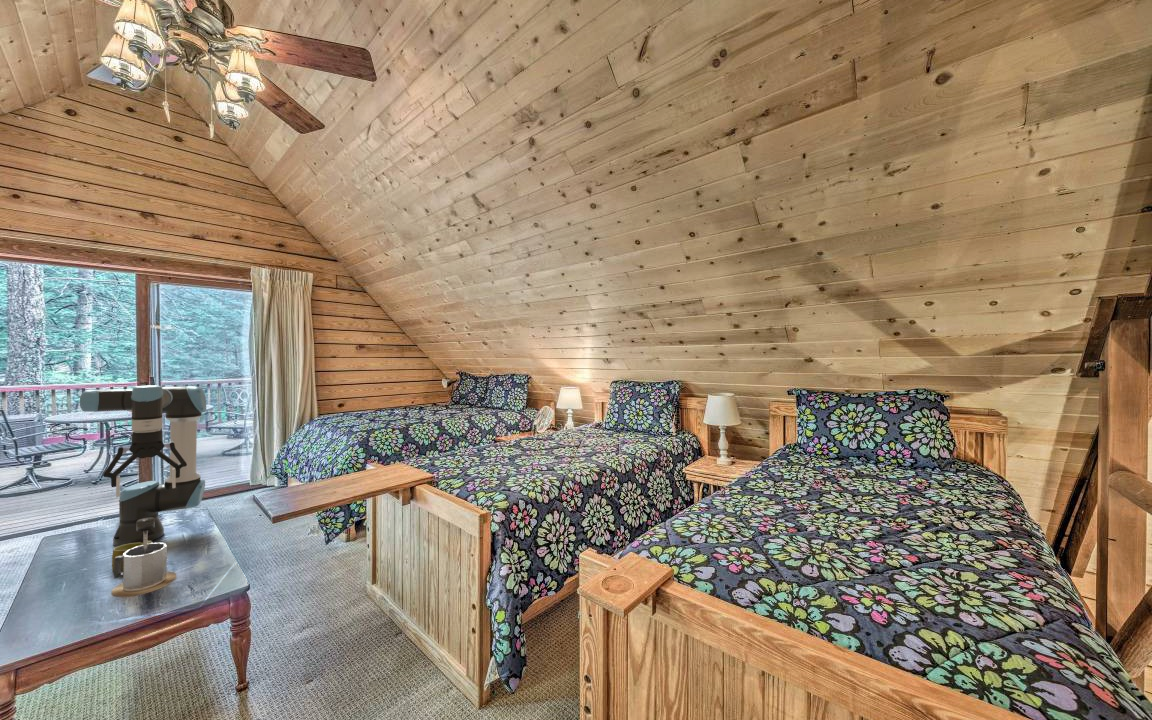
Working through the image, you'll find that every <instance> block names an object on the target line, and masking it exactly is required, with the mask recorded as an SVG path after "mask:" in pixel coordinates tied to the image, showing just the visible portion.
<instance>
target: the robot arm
mask: <svg viewBox="0 0 1152 720" xmlns="http://www.w3.org/2000/svg"><path fill="white" fill-rule="evenodd" d="M79 407H80V409H81V410H82V411H83V412H85V413H89V412H93V413H96V412H97V413H98V412H116V411H117V412H118V411H121V412H122V411H124V412H125V411H126V412H130V413H131V431H132V432H131V440H130V441H131V442H130V443H131V444H130V446H125V447H124V446H122V445H121V446H118V448H117V453H116V454H115V456H114V457H113V459H112V461H111V462H110V463H109V465H108V466H107V468H106V469H105V471H104V472H103V475H102V476H103V477H104V478H110V487H111V488H115V489H116V490H115V493H116V494H115V497H116V498H119V500H118V502H119V503H118V504H119V509H118V510H119V511H118V512H119V514H118V515H119V518H118V519H119V521H118V522H119V523H118V526H117V528H116V531H115V533H114V535H113V538H112V545H113V546H115V547H118V546H121V545H125V544H130V543H139V542H140V543H143V532H144V531H136V522H137V521H138V520H140V519H143V518H150V517H153V518H155V527H154V528H152V529H150V530H148V541H152V542H153V541H155V540H156V539H160V538H161V537H162V536H163V535H164V534H165V532H164V531H165V527H164V526H163V524H162V521H161V519H160V517H159V513H161V512H168V511H169V512H170V511H171V512H172V511H177V510H187V509H192V508H196V507H198V506H199V505H200V504H201V503H202V500H203V497H204V493H205V487H206V480H204V479H201V475H200V474H199V473H197V441H198V440H197V437H198V435H197V434H198V433H197V432H198V431H197V429H198V424H197V423H198V421H197V420H199V419H200V418H201V417H202V414H203V413H205V412H206V411H207V398H206V393H205V392H204V389H203V388H202V387H200V386H194V385H193V386H191V385H187V386H184V385H183V386H161V385H156V384H155V385H137V386H134V387H132V389H131V388H129V389H128V388H126V389H86V390H85V391H82V392H81V394H80V397H79ZM163 414H164V415H165V419H166V420H168V421H169V423H170V437H169V439H170V440H169V441H170V442H165V443H164V442H163V430H162V428H163ZM164 448H167V449H169V456H168V455H167V454H165V453H164V452H163V451H162V450H163V449H164ZM128 451H130V452H131V453H132V454H131V455H130V456H129V457H128V458H127V459H126V460H125V461H124V462H123V463H122V464H121V465H120V466H119V467H117V468H116V469H115V470H114V468H115V466H116V465H117V464H118V462H119V461H120V459H121V458H122V456H123V455H124V454H127V452H128ZM154 457H158V458H160V459H162V460H163V461H165V462H166V463H167V464H168V465H169V476H168V477H167V478H166V479H165V480H164V483H161V484H160V481H158V480H148V481H143V482H138V483H135V484H132V485H129V486H127V487H125V488H123V489H122V490H120V489H121V485H120V484H121V483H120V481H121V476H120V473H122V472H123V471H124V470H125V469H126V468H128V466H130V464H132V463H133V462H134V461H135V460H136V459H137V458H139V459H146V458H154ZM113 470H114V471H113ZM112 471H113V472H112Z"/></svg>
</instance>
